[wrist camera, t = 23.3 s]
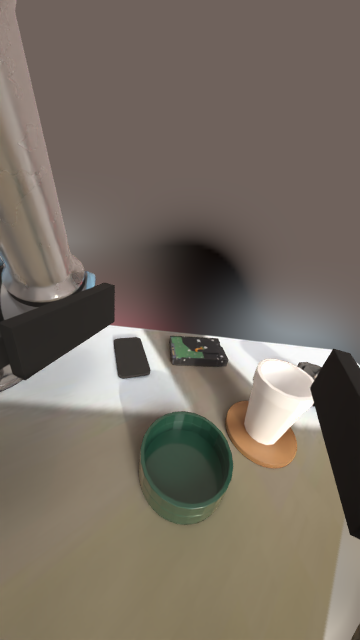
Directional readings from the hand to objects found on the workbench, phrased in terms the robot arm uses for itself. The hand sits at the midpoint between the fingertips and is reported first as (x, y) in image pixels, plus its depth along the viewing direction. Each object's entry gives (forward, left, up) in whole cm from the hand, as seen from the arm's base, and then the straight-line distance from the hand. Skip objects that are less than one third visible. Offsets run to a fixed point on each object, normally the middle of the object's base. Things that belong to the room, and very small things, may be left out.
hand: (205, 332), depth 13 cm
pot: (-7, +4, -29) cm, 30 cm away
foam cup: (-12, +20, -28) cm, 37 cm away
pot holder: (-12, +20, -29) cm, 37 cm away
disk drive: (-35, +13, -29) cm, 48 cm away
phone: (-34, -5, -29) cm, 45 cm away
